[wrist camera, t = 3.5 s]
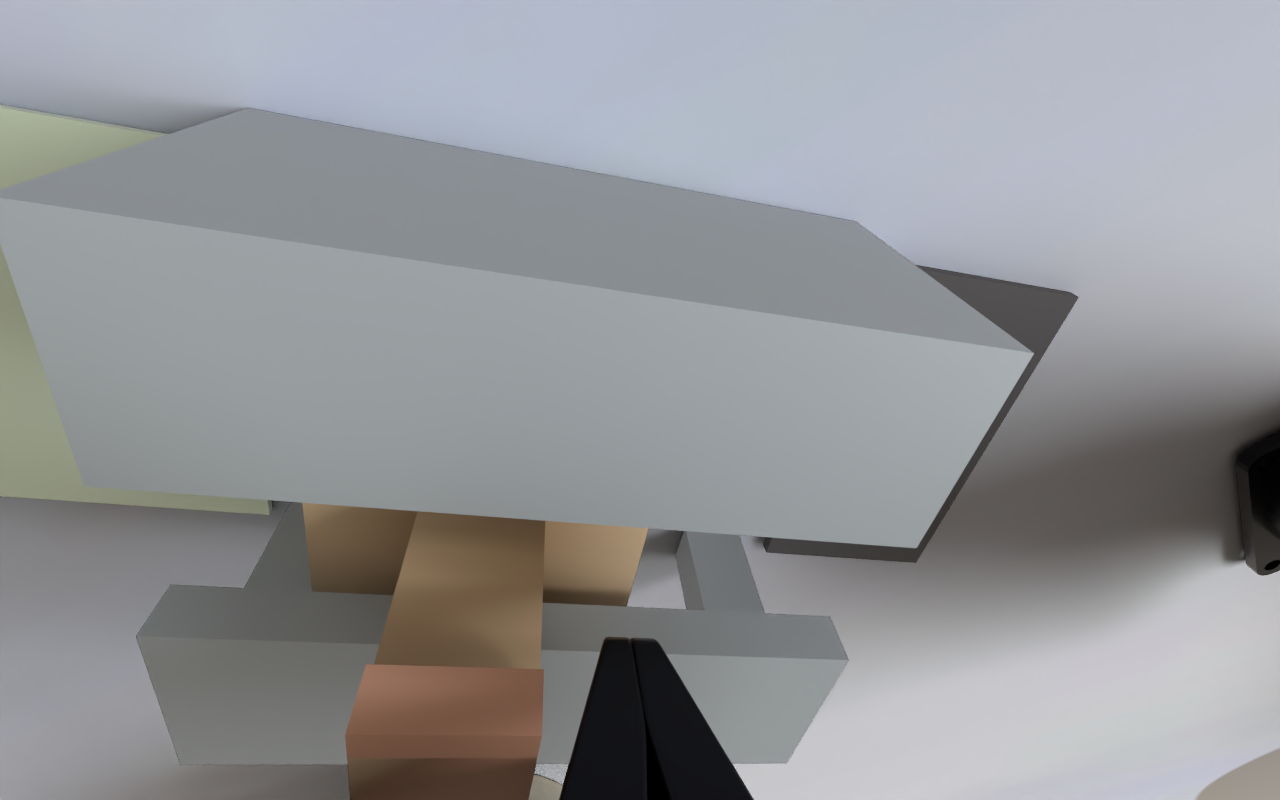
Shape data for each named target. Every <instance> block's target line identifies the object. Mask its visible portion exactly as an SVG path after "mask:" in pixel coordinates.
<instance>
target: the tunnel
mask: <svg viewBox="0 0 1280 800" xmlns="http://www.w3.org/2000/svg"><path fill="white" fill-rule="evenodd" d="M0 244H1V247H2V250H3V253H4V256H5V259H6V262H7V265H8V268H9V271H10V273H11V276H12V279H13V282H14V285H15V288H16V291H17V294H18V297H19V300H20V302H21V305H22V308H23V311H24V314H25V317H26V320H27V323H28V326H29V328H30V331H31V334H32V337H33V340H34V343H35V346H36V349H37V352H38V355H39V357H40V360H41V363H42V366H43V369H44V372H45V375H46V378H47V381H48V384H49V386H50V389H51V392H52V395H53V398H54V401H55V404H56V407H57V410H58V412H59V415H60V418H61V421H62V424H63V427H64V430H65V433H66V436H67V439H68V441H69V444H70V447H71V450H72V453H73V456H74V459H75V462H76V465H77V468H78V470H79V473H80V476H81V479H82V482H83V485H84V486H85V487H98V488H112V489H125V490H139V491H152V492H166V493H179V494H193V495H206V496H219V497H233V498H246V499H260V500H273V501H287V502H291V503H290V505H289V506H288V508H287V510H286V512H285V514H284V516H283V517H282V519H281V521H280V523H279V525H278V527H277V528H276V530H275V532H274V534H273V536H272V538H271V539H270V541H269V543H268V545H267V547H266V549H265V550H264V552H263V554H262V556H261V558H260V560H259V561H258V563H257V565H256V567H255V569H254V571H253V572H252V574H251V576H250V578H249V580H248V582H247V583H246V585H245V587H244V588H230V587H209V586H188V585H170V586H169V588H168V589H167V591H166V592H165V594H164V595H163V597H162V598H161V600H160V601H159V603H158V604H157V606H156V607H155V609H154V610H153V612H152V613H151V614H150V616H149V617H148V619H147V620H146V622H145V623H144V625H143V626H142V628H141V629H140V631H139V632H138V634H137V635H136V638H137V641H138V644H139V647H140V650H141V653H142V656H143V659H144V662H145V664H146V667H147V670H148V673H149V676H150V679H151V682H152V685H153V688H154V691H155V693H156V696H157V699H158V702H159V705H160V708H161V711H162V714H163V717H164V719H165V722H166V725H167V728H168V731H169V734H170V737H171V740H172V743H173V746H174V748H175V751H176V754H177V757H178V760H179V763H180V765H347V752H346V740H345V733H346V730H347V726H348V723H349V720H350V716H351V713H352V710H353V706H354V703H355V699H356V696H357V693H358V689H359V686H360V683H361V679H362V676H363V673H364V669H365V666H366V664H373V665H374V662H375V659H376V655H377V652H378V648H379V645H380V641H381V638H382V634H383V631H384V627H385V624H386V620H387V617H388V613H389V610H390V606H391V603H392V599H393V596H394V595H374V594H354V593H333V592H312V587H311V578H310V569H309V560H308V551H307V541H306V532H305V523H304V514H303V505H302V503H314V504H327V505H341V506H354V507H367V508H381V509H394V510H408V511H421V512H435V513H448V514H462V515H475V516H489V517H502V518H515V519H529V520H542V521H556V522H569V523H583V524H596V525H610V526H623V527H637V528H650V529H663V530H677V531H683V534H682V538H681V541H680V544H679V547H678V550H677V553H676V560H677V565H678V570H679V575H680V580H681V585H682V590H683V595H684V600H685V604H686V609H687V610H684V609H663V608H643V607H622V606H601V605H581V604H560V603H543V604H542V634H541V664H540V669H544V684H543V720H542V739H541V743H540V748H539V753H538V757H537V762H536V764H569V762H570V758H571V754H572V751H573V747H574V744H575V740H576V736H577V733H578V729H579V726H580V722H581V718H582V715H583V711H584V708H585V704H586V701H587V697H588V693H589V690H590V686H591V683H592V679H593V675H594V672H595V668H596V665H597V661H598V657H599V654H600V650H601V647H602V643H603V640H604V638H605V637H608V636H610V637H627V638H629V639H631V638H634V637H636V638H653V639H655V640H657V641H658V642H659V644H660V645H661V647H662V648H663V650H664V652H665V653H666V655H667V657H668V658H669V660H670V662H671V663H672V665H673V667H674V668H675V670H676V672H677V673H678V675H679V677H680V678H681V680H682V681H683V683H684V685H685V686H686V688H687V690H688V691H689V693H690V695H691V696H692V698H693V700H694V701H695V703H696V705H697V706H698V708H699V710H700V711H701V713H702V715H703V716H704V718H705V720H706V721H707V723H708V725H709V726H710V728H711V730H712V731H713V733H714V735H715V736H716V738H717V740H718V741H719V743H720V745H721V746H722V748H723V750H724V751H725V753H726V754H727V756H728V758H729V759H730V761H731V763H732V764H769V763H787V762H788V760H789V759H790V757H791V755H792V754H793V752H794V750H795V749H796V747H797V745H798V744H799V742H800V740H801V739H802V737H803V735H804V734H805V732H806V731H807V729H808V727H809V726H810V724H811V722H812V721H813V719H814V717H815V716H816V714H817V712H818V711H819V709H820V707H821V706H822V704H823V702H824V701H825V699H826V697H827V696H828V694H829V692H830V691H831V689H832V687H833V686H834V684H835V682H836V681H837V679H838V678H839V676H840V674H841V673H842V671H843V669H844V668H845V666H846V664H847V663H848V661H849V659H848V657H847V655H846V652H845V650H844V648H843V645H842V643H841V641H840V639H839V636H838V634H837V632H836V629H835V627H834V625H833V622H832V620H831V618H830V617H828V616H808V615H787V614H766V613H765V612H764V609H763V606H762V603H761V600H760V597H759V594H758V591H757V588H756V585H755V582H754V579H753V576H752V573H751V570H750V567H749V564H748V561H747V558H746V555H745V551H744V548H743V545H742V542H741V539H740V536H739V535H744V536H758V537H771V538H785V539H798V540H811V541H825V542H838V543H852V544H865V545H879V546H892V547H906V548H917V547H918V545H919V543H920V542H921V540H922V538H923V537H924V535H925V533H926V532H927V530H928V528H929V527H930V525H931V523H932V522H933V520H934V519H935V517H936V515H937V514H938V512H939V510H940V509H941V507H942V505H943V504H944V502H945V500H946V499H947V497H948V495H949V494H950V492H951V490H952V489H953V487H954V485H955V484H956V482H957V480H958V479H959V477H960V475H961V474H962V472H963V470H964V469H965V467H966V465H967V464H968V462H969V461H970V459H971V457H972V456H973V454H974V452H975V451H976V449H977V447H978V446H979V444H980V442H981V441H982V439H983V437H984V436H985V434H986V432H987V431H988V429H989V427H990V426H991V424H992V422H993V421H994V419H995V417H996V416H997V414H998V412H999V411H1000V409H1001V408H1002V406H1003V404H1004V403H1005V401H1006V399H1007V398H1008V396H1009V394H1010V393H1011V391H1012V389H1013V388H1014V386H1015V384H1016V383H1017V381H1018V379H1019V378H1020V376H1021V374H1022V373H1023V371H1024V369H1025V368H1026V366H1027V364H1028V363H1029V361H1030V359H1031V358H1032V356H1033V355H1034V353H1033V352H1032V351H1030V350H1029V349H1028V348H1026V347H1025V346H1024V345H1022V344H1021V343H1020V342H1018V341H1017V340H1016V339H1014V338H1013V337H1012V336H1010V335H1009V334H1008V333H1006V332H1005V331H1003V330H1002V329H1001V328H999V327H998V326H997V325H995V324H994V323H993V322H991V321H990V320H989V319H987V318H986V317H985V316H983V315H982V314H981V313H979V312H978V311H976V310H975V309H974V308H972V307H971V306H970V305H968V304H967V303H966V302H964V301H963V300H962V299H960V298H959V297H958V296H956V295H955V294H954V293H952V292H951V291H950V290H948V289H947V288H945V287H944V286H943V285H941V284H940V283H939V282H937V281H936V280H935V279H933V278H932V277H931V276H929V275H928V274H927V273H925V272H924V271H923V270H921V269H920V268H918V267H917V266H916V265H914V264H913V263H912V262H910V261H909V260H908V259H906V258H905V257H904V256H902V255H901V254H900V253H898V252H897V251H896V250H894V249H893V248H891V247H890V246H889V245H887V244H886V243H885V242H883V241H882V240H881V239H879V238H878V237H877V236H875V235H874V234H873V233H871V232H870V231H869V230H867V229H866V228H865V227H863V226H862V225H860V224H859V223H858V222H856V221H850V220H845V219H839V218H834V217H829V216H823V215H818V214H813V213H807V212H802V211H797V210H791V209H786V208H781V207H775V206H770V205H765V204H759V203H754V202H749V201H743V200H738V199H733V198H727V197H722V196H717V195H711V194H706V193H700V192H695V191H690V190H684V189H679V188H674V187H668V186H663V185H658V184H652V183H647V182H642V181H636V180H631V179H626V178H620V177H615V176H610V175H604V174H599V173H594V172H588V171H583V170H578V169H572V168H567V167H561V166H556V165H551V164H545V163H540V162H535V161H529V160H524V159H519V158H513V157H508V156H503V155H497V154H492V153H487V152H481V151H476V150H471V149H465V148H460V147H455V146H449V145H444V144H439V143H433V142H428V141H423V140H417V139H412V138H406V137H401V136H396V135H390V134H385V133H380V132H374V131H369V130H364V129H358V128H353V127H348V126H342V125H337V124H332V123H326V122H321V121H316V120H310V119H305V118H300V117H294V116H289V115H284V114H278V113H273V112H267V111H262V110H257V109H251V108H246V109H243V110H240V111H237V112H234V113H231V114H228V115H225V116H222V117H219V118H216V119H213V120H210V121H207V122H204V123H201V124H198V125H195V126H192V127H189V128H186V129H182V130H179V131H176V132H173V133H170V134H167V135H164V136H161V137H158V138H155V139H152V140H149V141H146V142H143V143H140V144H137V145H134V146H131V147H128V148H125V149H122V150H119V151H116V152H113V153H110V154H107V155H104V156H101V157H98V158H95V159H92V160H89V161H86V162H83V163H80V164H77V165H74V166H71V167H68V168H65V169H62V170H59V171H56V172H52V173H49V174H46V175H43V176H40V177H37V178H34V179H31V180H28V181H25V182H22V183H19V184H16V185H13V186H10V187H7V188H4V189H1V190H0Z"/></svg>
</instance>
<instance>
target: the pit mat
mask: <svg viewBox="0 0 1280 800" xmlns="http://www.w3.org/2000/svg"><path fill="white" fill-rule="evenodd" d="M916 266H917V267H918V268H920V269H921V270H923V271H924V272H925V273H927V274H928V275H929V276H931V277H932V278H933V279H935V280H936V281H937V282H939V283H940V284H941V285H943V286H944V287H945V288H947V289H948V290H950V291H951V292H952V293H954V294H955V295H956V296H958V297H959V298H960V299H962V300H963V301H964V302H966V303H967V304H968V305H970V306H971V307H972V308H974V309H975V310H976V311H978V312H979V313H981V314H982V315H983V316H985V317H986V318H987V319H989V320H990V321H991V322H993V323H994V324H995V325H997V326H998V327H999V328H1001V329H1002V330H1003V331H1005V332H1006V333H1008V334H1009V335H1010V336H1012V337H1013V338H1014V339H1016V340H1017V341H1018V342H1020V343H1021V344H1022V345H1024V346H1025V347H1026V348H1028V349H1029V350H1030V351H1032V352H1033V353H1034V355H1033V356H1032V358H1031V359H1030V361H1029V363H1028V364H1027V366H1026V368H1025V369H1024V371H1023V373H1022V374H1021V376H1020V378H1019V379H1018V381H1017V383H1016V384H1015V386H1014V388H1013V389H1012V391H1011V393H1010V394H1009V396H1008V398H1007V399H1006V401H1005V403H1004V404H1003V406H1002V408H1001V409H1000V411H999V412H998V414H997V416H996V417H995V419H994V421H993V422H992V424H991V426H990V427H989V429H988V431H987V432H986V434H985V436H984V437H983V439H982V441H981V442H980V444H979V446H978V447H977V449H976V451H975V452H974V454H973V456H972V457H971V459H970V461H969V462H968V464H967V465H966V467H965V469H964V470H963V472H962V474H961V475H960V477H959V479H958V480H957V482H956V484H955V485H954V487H953V489H952V490H951V492H950V494H949V495H948V497H947V499H946V500H945V502H944V504H943V505H942V507H941V509H940V510H939V512H938V514H937V515H936V517H935V519H934V520H933V522H932V523H931V525H930V527H929V528H928V530H927V532H926V533H925V535H924V537H923V538H922V540H921V542H920V543H919V545H918V547H917V548H906V547H892V546H879V545H865V544H852V543H838V542H825V541H811V540H798V539H785V538H771V537H767V538H766V540H765V542H764V548H765V550H766V552H769V553H784V554H798V555H813V556H827V557H842V558H856V559H870V560H885V561H899V562H914V563H916V562H917V560H918V558H919V557H920V555H921V553H922V552H923V550H924V549H925V547H926V545H927V544H928V542H929V540H930V539H931V537H932V536H933V534H934V532H935V531H936V529H937V527H938V526H939V524H940V522H941V521H942V519H943V518H944V516H945V514H946V513H947V511H948V509H949V508H950V506H951V505H952V503H953V501H954V500H955V498H956V496H957V495H958V493H959V491H960V490H961V488H962V487H963V485H964V483H965V482H966V480H967V478H968V477H969V475H970V474H971V472H972V470H973V469H974V467H975V465H976V464H977V462H978V461H979V459H980V457H981V456H982V454H983V452H984V451H985V449H986V447H987V446H988V444H989V443H990V441H991V439H992V438H993V436H994V434H995V433H996V431H997V430H998V428H999V426H1000V425H1001V423H1002V421H1003V420H1004V418H1005V416H1006V415H1007V413H1008V412H1009V410H1010V408H1011V407H1012V405H1013V403H1014V402H1015V400H1016V399H1017V397H1018V395H1019V394H1020V392H1021V390H1022V389H1023V387H1024V385H1025V384H1026V382H1027V381H1028V379H1029V377H1030V376H1031V374H1032V372H1033V371H1034V369H1035V368H1036V366H1037V364H1038V363H1039V361H1040V359H1041V358H1042V356H1043V355H1044V353H1045V351H1046V350H1047V348H1048V346H1049V345H1050V343H1051V341H1052V340H1053V338H1054V337H1055V335H1056V333H1057V332H1058V330H1059V328H1060V327H1061V325H1062V324H1063V322H1064V320H1065V319H1066V317H1067V315H1068V314H1069V312H1070V310H1071V309H1072V307H1073V306H1074V304H1075V302H1076V301H1077V299H1078V297H1077V296H1076V295H1074V294H1072V293H1070V292H1066V291H1060V290H1055V289H1049V288H1043V287H1037V286H1032V285H1026V284H1020V283H1015V282H1009V281H1003V280H998V279H992V278H986V277H980V276H975V275H969V274H963V273H958V272H952V271H946V270H941V269H935V268H929V267H923V266H918V265H916Z"/></svg>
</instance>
